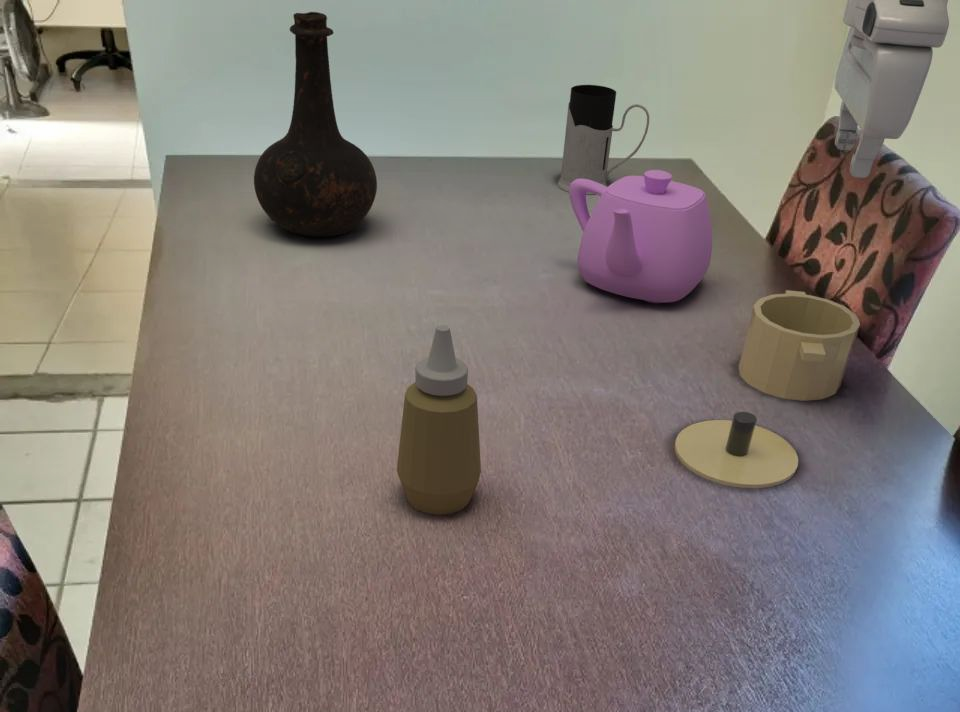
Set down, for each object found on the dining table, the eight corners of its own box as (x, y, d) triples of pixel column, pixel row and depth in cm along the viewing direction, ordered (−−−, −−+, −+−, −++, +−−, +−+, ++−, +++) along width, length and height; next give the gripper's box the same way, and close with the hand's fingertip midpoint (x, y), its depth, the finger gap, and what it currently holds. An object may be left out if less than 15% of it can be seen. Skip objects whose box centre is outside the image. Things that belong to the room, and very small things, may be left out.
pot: (826, 354, 125) (846, 290, 119) (848, 422, 112) (872, 352, 106) (732, 345, 125) (748, 280, 120) (743, 411, 112) (761, 341, 107)
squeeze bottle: (495, 503, 96) (509, 329, 84) (439, 537, 91) (445, 358, 79) (436, 471, 100) (440, 300, 88) (379, 502, 95) (375, 326, 83)
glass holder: (563, 175, 174) (572, 81, 164) (641, 186, 172) (656, 91, 161) (552, 190, 167) (562, 93, 157) (634, 202, 165) (649, 104, 155)
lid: (787, 436, 109) (800, 393, 105) (802, 500, 99) (817, 456, 96) (671, 423, 109) (680, 381, 106) (675, 486, 100) (684, 442, 96)
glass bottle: (236, 234, 145) (211, 14, 126) (297, 200, 157) (283, -5, 138) (342, 257, 140) (333, 33, 122) (396, 220, 153) (396, 11, 134)
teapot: (584, 248, 148) (597, 140, 138) (716, 280, 141) (740, 170, 131) (516, 297, 133) (525, 181, 123) (660, 337, 126) (682, 217, 116)
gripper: (843, -15, 100) (806, 131, 110) (881, 23, 85) (834, 189, 94) (905, -10, 100) (863, 136, 109) (954, 29, 85) (900, 195, 94)
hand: (850, 161), depth 102 cm, fingers open, 8 cm apart
